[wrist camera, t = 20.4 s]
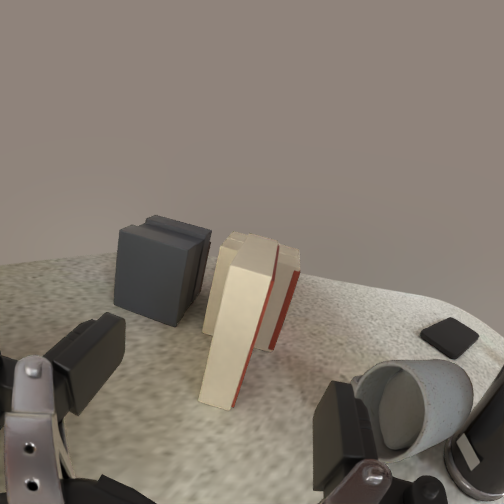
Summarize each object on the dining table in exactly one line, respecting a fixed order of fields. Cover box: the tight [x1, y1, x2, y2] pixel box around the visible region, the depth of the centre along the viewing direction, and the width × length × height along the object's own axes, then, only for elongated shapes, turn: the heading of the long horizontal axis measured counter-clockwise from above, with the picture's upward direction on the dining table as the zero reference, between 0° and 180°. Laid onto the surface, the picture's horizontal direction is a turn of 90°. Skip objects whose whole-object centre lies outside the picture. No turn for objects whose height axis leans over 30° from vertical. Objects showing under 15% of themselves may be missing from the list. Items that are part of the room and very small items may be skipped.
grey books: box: [114, 215, 212, 327], centre depth 31 cm, size 7×9×8 cm
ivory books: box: [202, 231, 300, 352], centre depth 31 cm, size 7×8×9 cm
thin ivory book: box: [198, 233, 280, 411], centre depth 22 cm, size 3×8×11 cm, turn 172°
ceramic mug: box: [351, 359, 474, 463], centre depth 20 cm, size 11×8×8 cm
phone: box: [420, 317, 479, 359], centre depth 39 cm, size 7×1×15 cm
